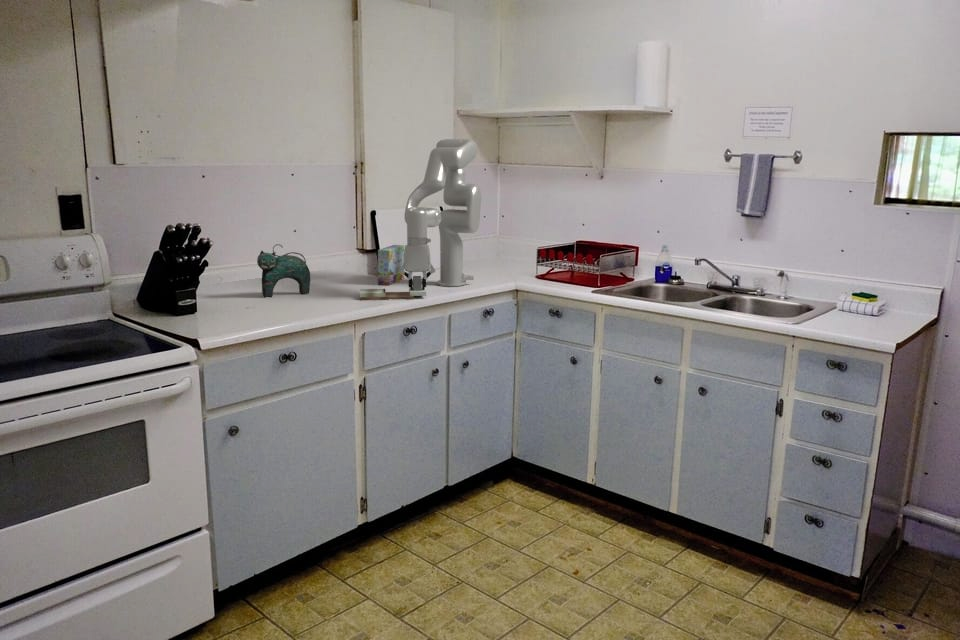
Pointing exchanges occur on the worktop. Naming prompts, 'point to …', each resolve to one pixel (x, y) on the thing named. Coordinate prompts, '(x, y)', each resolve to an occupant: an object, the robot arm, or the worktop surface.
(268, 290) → the ceramic cat
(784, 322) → the worktop surface
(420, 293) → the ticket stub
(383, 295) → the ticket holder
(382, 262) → the snack box
